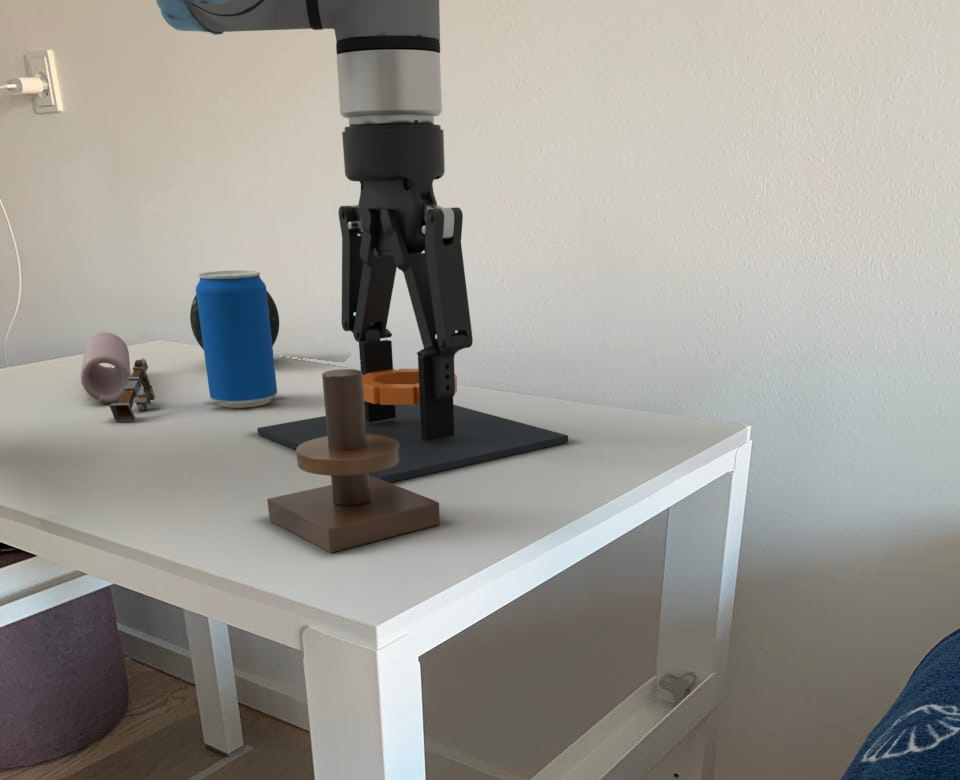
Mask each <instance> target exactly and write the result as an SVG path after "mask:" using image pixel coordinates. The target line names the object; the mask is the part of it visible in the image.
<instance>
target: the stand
mask: <svg viewBox="0 0 960 780" xmlns="http://www.w3.org/2000/svg"><path fill="white" fill-rule="evenodd" d="M321 376H322V377H321V378H322V389H323V402H324V411H325V416H326V425H327V436H326V437H320V438H316V439H312V440H309V441H306V442H304V443H302V444H300V445H299V446H298V447H297V449H295V454H296V464H297V467H298V468H299V469H300V470H301V471H303V472H306V473H309V474H313V475H318V476H319V475H320V476H330V481H331V484H328V485H324V486H320V487H315V488H311V489H306V490H301V491H298V492H293V493H288V494H283V495H279V496H274V497H269V498H267V509H268V517H269V521H270V522H271V523H273V524H276V525H277V526H279V527H281V528H283V529H285V530H287V531H289V532H290V533H293V534H295V535H297V536H298V537H300V538H301V539H304V540H306V541H308V542H309V543H311V544H314V545H315V546H318V547H319V548H321V549H323V550H325V551H327V552H328V553H330V554H331V553H335V552H339V551H343V550H347V549H351V548H354V547H358V546H361V545H362V546H363V545H366V544H370V543H373V542H377V541H382V540H385V539H388V538H392V537H397V536H400V535H404V534H408V533H412V532H415V531H419V530H423V529H428V528H431V527H435V526H439V525H440V524H441V519H440V515H441V514H440V502H439V501H436V500H434V499H431V498H429V497H426V496H424V495H421V494H419V493H416V492H414V491H411V490H408V489H406V488H403V487H401V486H399V485H396V484H393V483H392V482H391V483H389V482H386V481H384V480H381V479H378V478H376V477H373V476H369V473H374V472H379V471H383V470H386V469H389V468H391V467H393V466H395V465H396V464H398V463H399V461H400V447H399V443H398V441H396V440H395V439H392V438H389V437H386V436H381V435H372V434H366V420H365V406H364V392H363V378H362V372H361V370H359V369H353V368H340V369H339V368H338V369H331V370H326V371H324V372H322V374H321Z"/></svg>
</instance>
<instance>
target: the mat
mask: <svg viewBox="0 0 960 780" xmlns="http://www.w3.org/2000/svg"><path fill="white" fill-rule="evenodd" d="M453 409H454V436H450V437H445V438H440V439H436V440H431V441H425V440H422V436H421V415H420V404H416V403H415V404H414V405H395V412H396V418H392V419H386V420H381V421H375V422H370V423H369V422H366V434H372V435H381V436H386V437H389V438H392V439H395V440H396V441H398V443H399V447H400V461H399V463H398V464H396V465H395V466H393V467H391V468H389V469H386V470H383V471H379V472H374V473H369V476H373V477H376V478H378V479H381V480H384V481H386V482H389V483H391V484H392V483H395V482H400V481H403V480H404V481H405V480H408V479H412V478H416V477H420V476H425V475H430V474H435V473H439V472H443V471H447V470H452V469H455V468H456V469H457V468H461V467H466V466H470V465H474V464H479V463H482V462H488V461H492V460H496V459H500V458H505V457H510V456H514V455H517V454H523V453H528V452H533V451H536V450H541V449H545V448H549V447H554V446H559V445H562V444H567V443H569V435H568V434H565V433H561V432H557V431H553V430H550V429H546V428H542V427H538V426H534V425H531V424H527V423H523V422H520V421H516V420H512V419H509V418H505V417H501V416H498V415H493V414H491V413H488V412H487V413H486V412H483V411H479V410H475V409H471V408H468V407H464V406H460V405H456V404H453ZM256 429H257V435H259V436H261V437H264V438H266V439H269V440H271V441H274V442H276V443H279V444H280V445H283V446H286V447H288V448H291V449H293V450H296V449H297V447H298V446H299V445H300V444H302V443H304V442H306V441H309V440H312V439H316V438H320V437H326V436H327V425H326V415H322V416H316V417H312V418H311V417H310V418H305V419H300V420H295V421H289V422H281V423H278V424H277V423H276V424H272V425H266V426H261V427H257V428H256Z"/></svg>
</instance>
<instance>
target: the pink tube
mask: <svg viewBox="0 0 960 780" xmlns="http://www.w3.org/2000/svg"><path fill="white" fill-rule="evenodd" d="M83 353H84V354H83V359H82V363H81V369H80V382H81V386H82V387H83V390H84V391H85V392H86V393H87V394H88V395H89V396H90V397H91V398H93V399H95V400H97V401H99V403H100V404H104V405H111V403H118V402H119V400H120V399H121V397H122V396H123V394H124V392H125V390H124V388H125V387H126V384H127V381H128V378H129V377H131V376H132V374H131V363H130V361H131V360H130V351H129V348H128V346H127V344H126V343H125V341H124V340H123V339H122V338H121V337H120V336H118V335H117V334H114V333H112V332H108V331H107V332H106V331H104V332H103V331H102V332H97V333H95V334H93V335H92V336H91V337H89V339H88V340H87V341H86V344H85V347H84V351H83ZM101 364H108V365H112V366H114V367H112V366H103V365H101Z"/></svg>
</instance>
